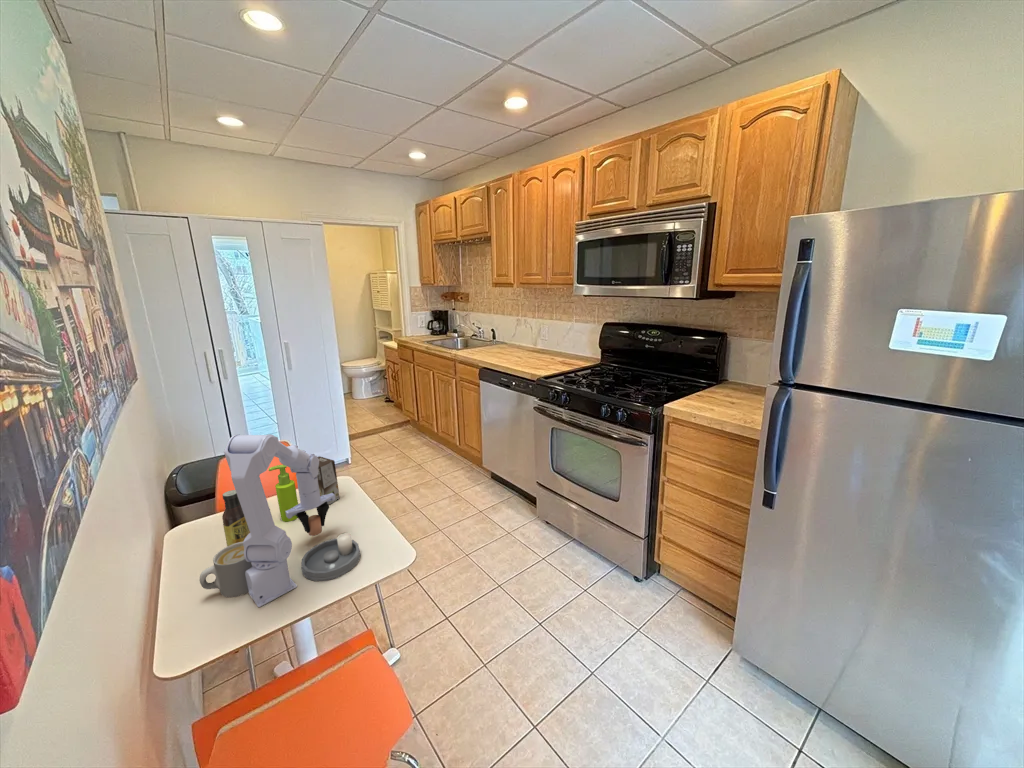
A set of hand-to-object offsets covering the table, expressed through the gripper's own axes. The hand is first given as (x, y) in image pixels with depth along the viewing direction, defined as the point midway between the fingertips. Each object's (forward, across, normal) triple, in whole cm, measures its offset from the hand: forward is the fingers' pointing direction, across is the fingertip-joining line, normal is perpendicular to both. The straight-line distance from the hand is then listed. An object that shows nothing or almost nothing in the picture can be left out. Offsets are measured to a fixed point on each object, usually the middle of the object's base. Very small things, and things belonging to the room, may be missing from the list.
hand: (314, 528), depth 130 cm
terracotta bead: (+1, 0, 0) cm, 1 cm away
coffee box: (+4, -13, -22) cm, 26 cm away
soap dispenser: (+4, +1, -20) cm, 21 cm away
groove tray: (+4, +2, +15) cm, 16 cm away
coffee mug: (+4, +24, +4) cm, 25 cm away
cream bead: (+3, -3, +15) cm, 15 cm away
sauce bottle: (+4, +18, -12) cm, 22 cm away
